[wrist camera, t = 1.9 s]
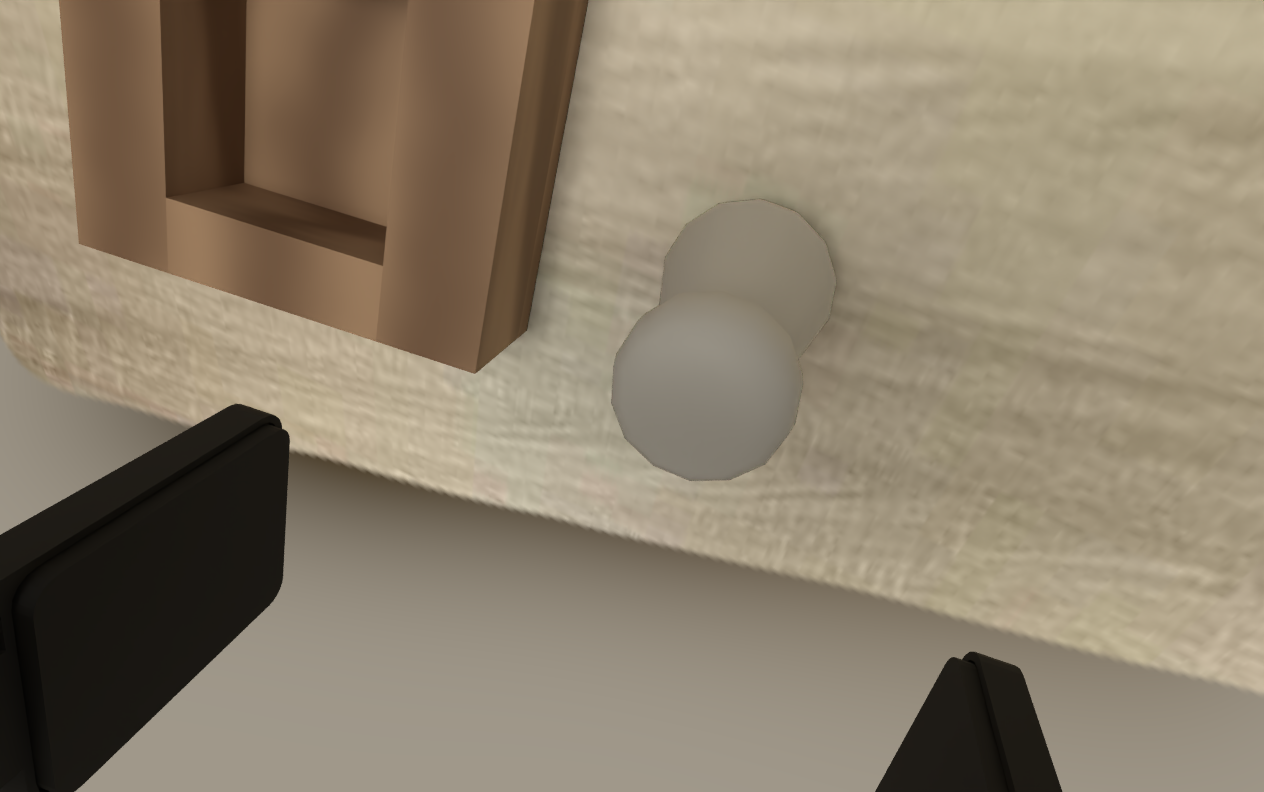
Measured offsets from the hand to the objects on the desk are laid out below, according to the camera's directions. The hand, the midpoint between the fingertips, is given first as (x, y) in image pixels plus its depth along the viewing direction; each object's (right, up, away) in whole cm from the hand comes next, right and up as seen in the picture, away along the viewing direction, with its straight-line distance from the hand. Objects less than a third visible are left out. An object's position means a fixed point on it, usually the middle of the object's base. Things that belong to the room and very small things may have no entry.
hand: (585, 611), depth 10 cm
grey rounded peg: (+5, +8, +18) cm, 20 cm away
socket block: (-10, +14, +19) cm, 25 cm away
